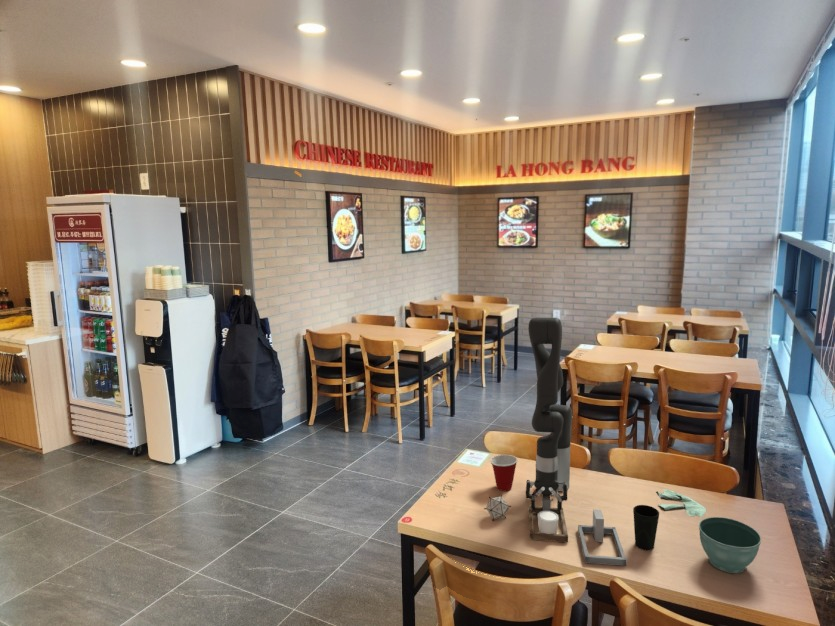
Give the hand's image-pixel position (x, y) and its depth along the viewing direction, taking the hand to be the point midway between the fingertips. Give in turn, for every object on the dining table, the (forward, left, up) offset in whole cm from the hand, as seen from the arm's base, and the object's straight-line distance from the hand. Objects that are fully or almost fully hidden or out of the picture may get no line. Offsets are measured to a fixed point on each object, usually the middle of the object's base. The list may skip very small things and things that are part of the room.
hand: (546, 509), depth 193 cm
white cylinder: (+12, 0, -3) cm, 12 cm away
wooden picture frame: (+6, 0, -2) cm, 7 cm away
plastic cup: (-20, -15, -3) cm, 25 cm away
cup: (+14, +30, -3) cm, 33 cm away
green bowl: (+21, +52, -3) cm, 56 cm away
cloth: (-16, +47, -4) cm, 50 cm away
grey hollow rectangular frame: (+17, +16, -2) cm, 23 cm away
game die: (+3, -17, -3) cm, 17 cm away
